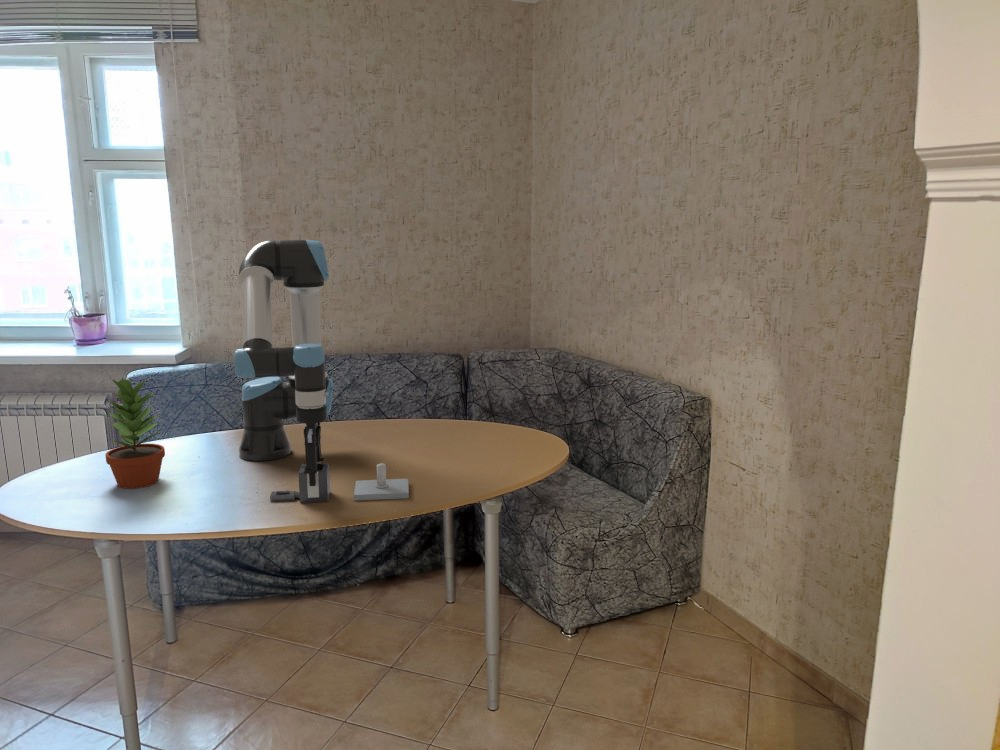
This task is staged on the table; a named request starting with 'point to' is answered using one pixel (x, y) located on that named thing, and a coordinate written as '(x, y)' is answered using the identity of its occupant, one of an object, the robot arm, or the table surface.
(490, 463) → the table surface
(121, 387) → the potted plant
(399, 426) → the table surface
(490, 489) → the table surface
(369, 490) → the keeper
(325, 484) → the grey square socket
